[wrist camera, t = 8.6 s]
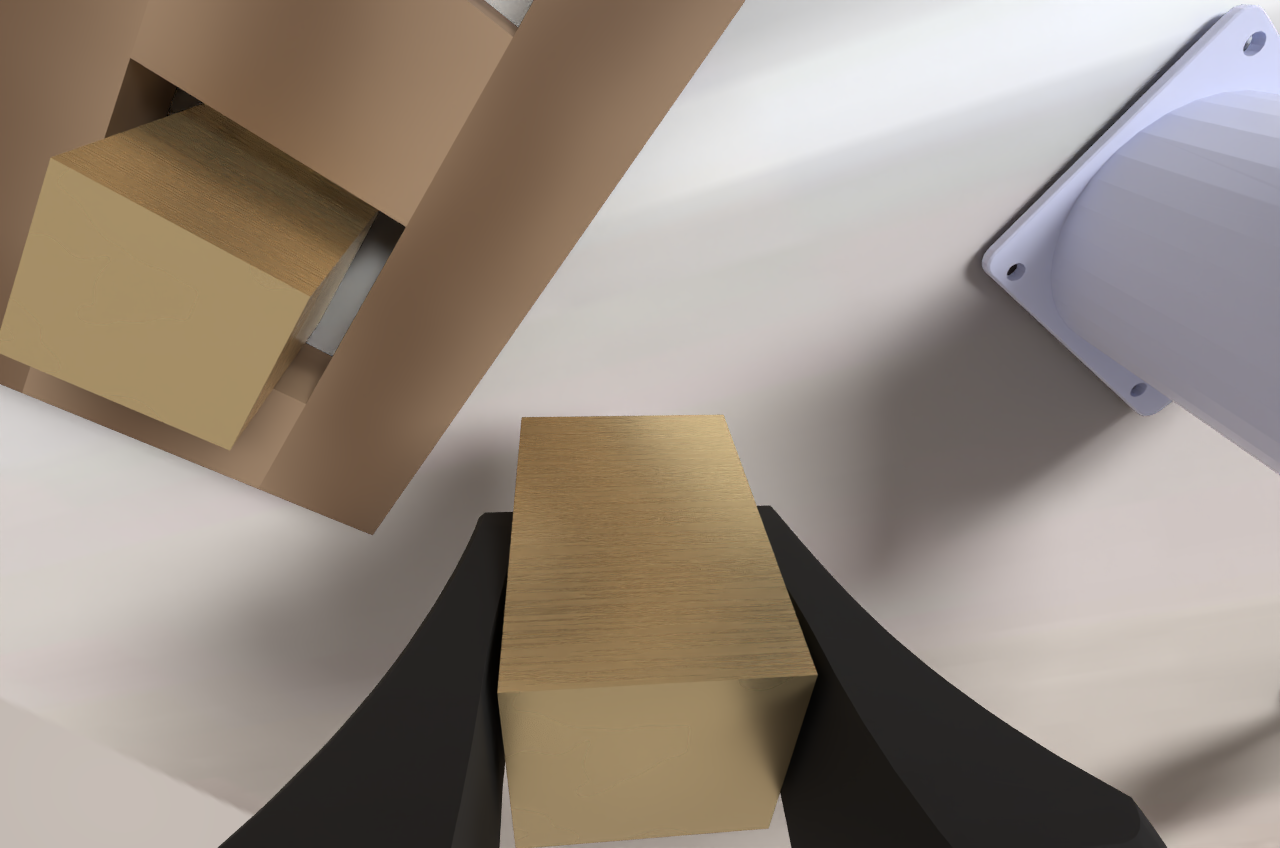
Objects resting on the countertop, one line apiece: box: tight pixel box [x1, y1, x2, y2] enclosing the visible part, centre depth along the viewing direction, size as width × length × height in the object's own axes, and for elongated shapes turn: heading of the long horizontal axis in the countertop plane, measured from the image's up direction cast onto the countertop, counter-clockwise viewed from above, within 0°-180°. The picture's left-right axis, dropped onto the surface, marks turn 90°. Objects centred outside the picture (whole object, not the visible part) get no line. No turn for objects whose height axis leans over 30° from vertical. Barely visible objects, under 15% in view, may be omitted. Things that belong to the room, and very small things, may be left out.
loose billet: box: [497, 415, 818, 848], centre depth 12 cm, size 4×4×6 cm
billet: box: [0, 103, 379, 450], centre depth 14 cm, size 4×4×6 cm
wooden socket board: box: [0, 0, 745, 535], centre depth 14 cm, size 12×22×2 cm, turn 143°
